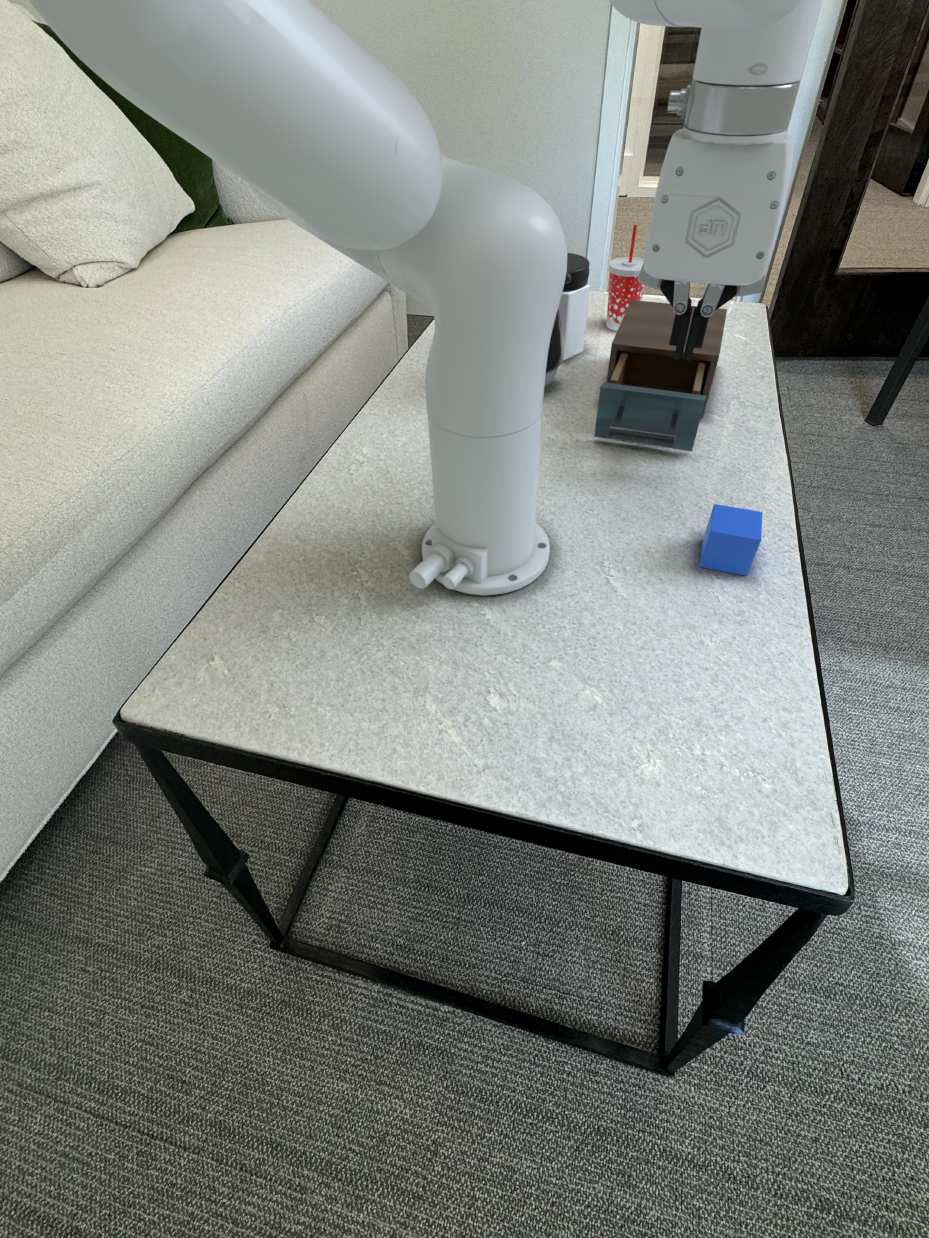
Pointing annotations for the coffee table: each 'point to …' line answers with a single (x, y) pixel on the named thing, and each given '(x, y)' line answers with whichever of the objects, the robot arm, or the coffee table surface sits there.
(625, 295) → the beverage cup
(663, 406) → the drawer
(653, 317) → the cabinet
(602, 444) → the coffee table surface
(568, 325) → the jar
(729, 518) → the blue block
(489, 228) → the robot arm
